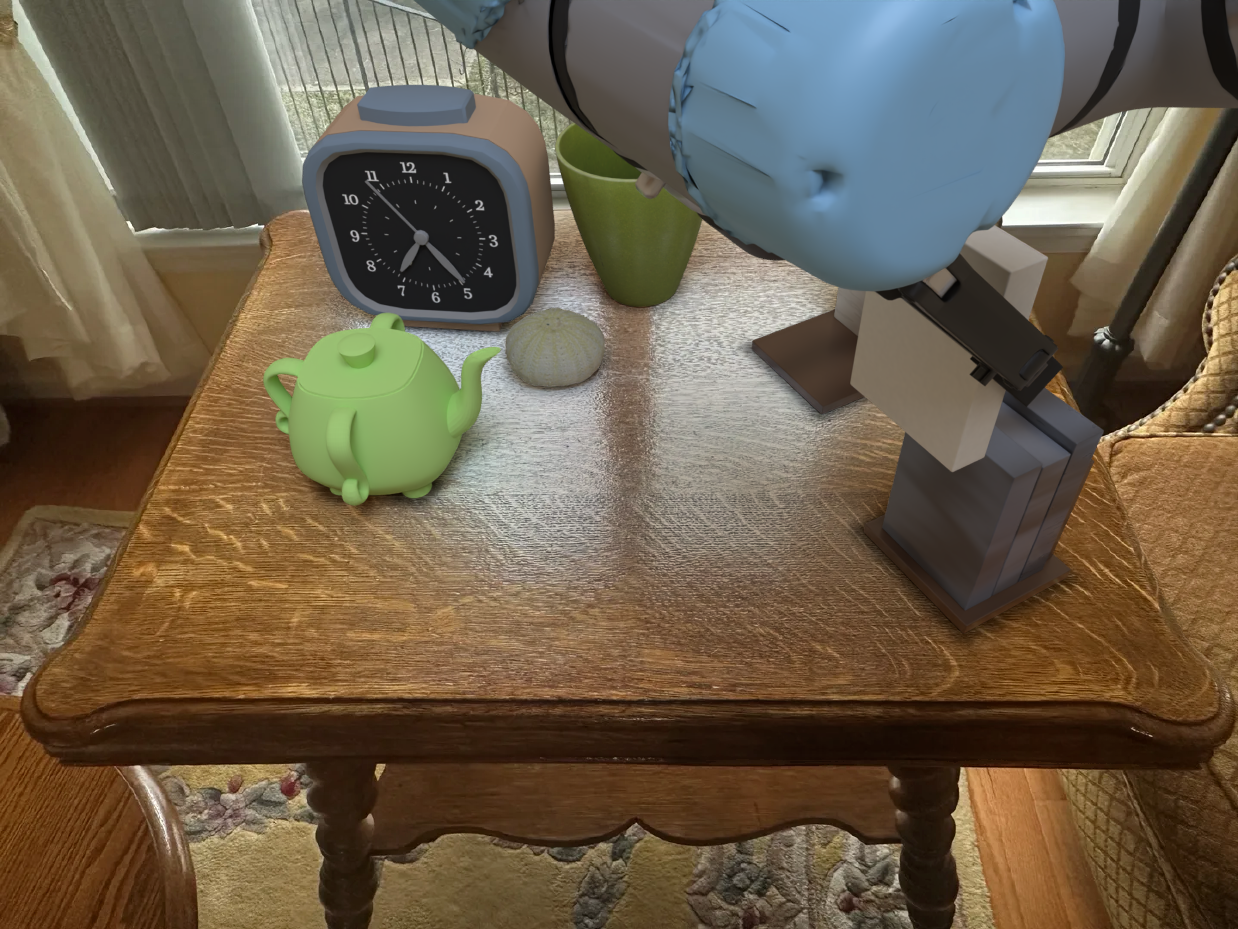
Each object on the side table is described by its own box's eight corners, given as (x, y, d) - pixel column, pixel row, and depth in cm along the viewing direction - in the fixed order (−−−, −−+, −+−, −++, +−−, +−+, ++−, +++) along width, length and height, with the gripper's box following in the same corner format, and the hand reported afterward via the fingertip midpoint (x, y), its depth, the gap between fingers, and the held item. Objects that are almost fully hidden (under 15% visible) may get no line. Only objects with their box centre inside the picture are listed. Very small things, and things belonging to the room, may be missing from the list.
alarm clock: (341, 328, 94) (278, 120, 79) (372, 275, 101) (319, 73, 86) (542, 340, 92) (516, 127, 76) (560, 284, 98) (540, 78, 83)
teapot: (445, 378, 88) (420, 262, 79) (520, 464, 80) (501, 344, 71) (279, 449, 82) (232, 331, 73) (341, 550, 74) (296, 430, 65)
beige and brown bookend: (949, 361, 87) (986, 224, 77) (821, 415, 83) (842, 277, 73) (872, 301, 94) (897, 170, 84) (751, 348, 90) (761, 215, 80)
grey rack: (1067, 578, 69) (1138, 429, 59) (963, 634, 66) (1018, 488, 55) (961, 484, 76) (1007, 337, 66) (862, 531, 73) (895, 385, 62)
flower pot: (557, 327, 93) (541, 178, 82) (579, 246, 104) (568, 103, 92) (708, 333, 91) (714, 181, 80) (715, 249, 102) (721, 105, 91)
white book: (984, 457, 53) (1049, 257, 44) (952, 473, 52) (1010, 272, 43) (880, 371, 59) (918, 178, 49) (849, 384, 58) (882, 190, 49)
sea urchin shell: (600, 385, 83) (533, 327, 80) (546, 424, 88) (481, 370, 85) (624, 324, 90) (562, 268, 87) (572, 363, 95) (512, 312, 92)
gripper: (575, 116, 45) (813, 295, 61) (870, 358, 31) (1077, 507, 47) (671, -26, 43) (891, 199, 59) (1033, 165, 29) (1191, 390, 45)
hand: (973, 335), depth 53 cm, fingers closed on white book, 9 cm apart
